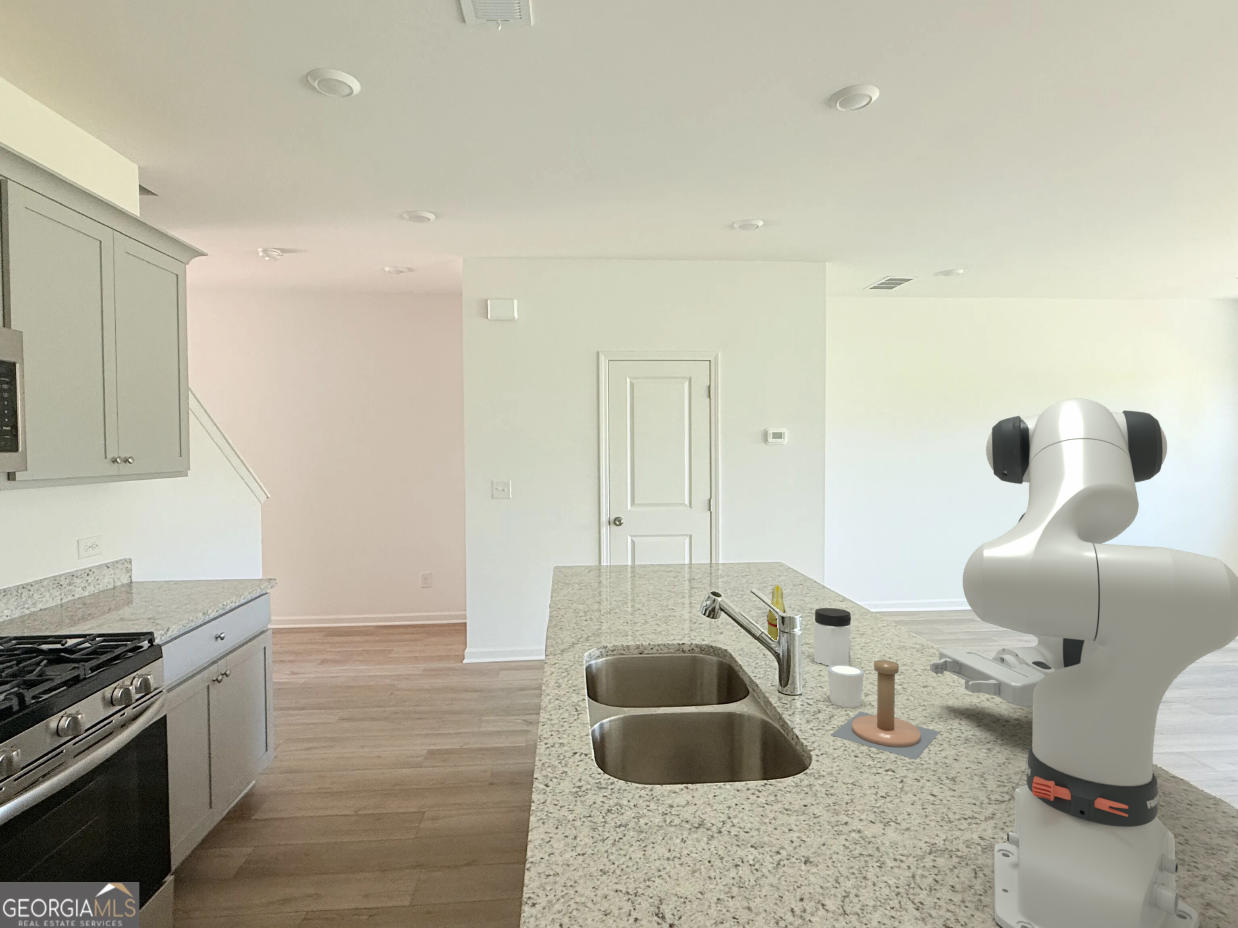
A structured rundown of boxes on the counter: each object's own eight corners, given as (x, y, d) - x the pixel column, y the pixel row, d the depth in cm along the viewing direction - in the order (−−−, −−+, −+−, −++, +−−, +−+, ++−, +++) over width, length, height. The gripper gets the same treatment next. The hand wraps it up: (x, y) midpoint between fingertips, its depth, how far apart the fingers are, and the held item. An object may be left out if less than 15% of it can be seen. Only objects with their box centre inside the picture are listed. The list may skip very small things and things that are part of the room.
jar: (849, 669, 150) (849, 617, 150) (812, 664, 154) (812, 613, 154) (851, 658, 159) (852, 609, 159) (816, 654, 162) (817, 606, 162)
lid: (908, 753, 106) (909, 678, 106) (842, 734, 113) (842, 664, 113) (928, 731, 115) (929, 662, 115) (865, 715, 122) (865, 650, 122)
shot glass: (866, 712, 125) (867, 676, 125) (829, 709, 126) (829, 673, 126) (861, 699, 131) (861, 665, 131) (825, 697, 133) (825, 662, 133)
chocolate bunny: (766, 646, 168) (766, 588, 168) (767, 635, 179) (767, 580, 179) (793, 649, 166) (794, 590, 166) (793, 637, 177) (793, 582, 177)
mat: (915, 762, 104) (915, 759, 104) (830, 738, 113) (830, 734, 113) (939, 735, 115) (939, 731, 115) (860, 714, 124) (860, 711, 124)
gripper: (977, 638, 129) (913, 642, 126) (1064, 673, 109) (990, 678, 106) (977, 670, 129) (913, 674, 127) (1064, 711, 109) (989, 717, 106)
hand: (949, 676), depth 116 cm, fingers open, 8 cm apart
